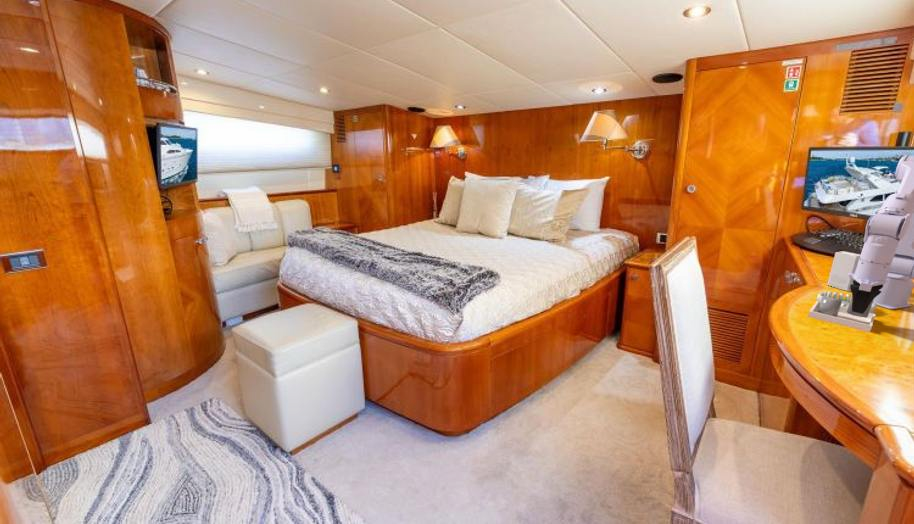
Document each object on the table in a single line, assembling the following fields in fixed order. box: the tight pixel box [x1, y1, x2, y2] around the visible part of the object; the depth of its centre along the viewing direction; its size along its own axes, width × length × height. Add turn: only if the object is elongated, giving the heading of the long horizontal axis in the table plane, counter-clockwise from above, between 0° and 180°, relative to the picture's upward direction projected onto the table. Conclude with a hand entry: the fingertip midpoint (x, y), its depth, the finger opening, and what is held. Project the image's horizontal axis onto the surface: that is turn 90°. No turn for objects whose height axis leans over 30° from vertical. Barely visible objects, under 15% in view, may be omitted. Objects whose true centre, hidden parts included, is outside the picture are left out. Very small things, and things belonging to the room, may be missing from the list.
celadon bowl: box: [816, 291, 878, 314], centre depth 114 cm, size 12×12×3 cm
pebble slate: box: [818, 297, 842, 317], centre depth 107 cm, size 4×4×4 cm
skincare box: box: [827, 250, 861, 292], centre depth 128 cm, size 6×4×12 cm
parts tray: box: [807, 300, 877, 333], centre depth 105 cm, size 12×12×2 cm
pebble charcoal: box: [847, 297, 873, 317], centre depth 102 cm, size 4×4×4 cm
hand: (858, 310), depth 102 cm, fingers closed on pebble charcoal, 4 cm apart
